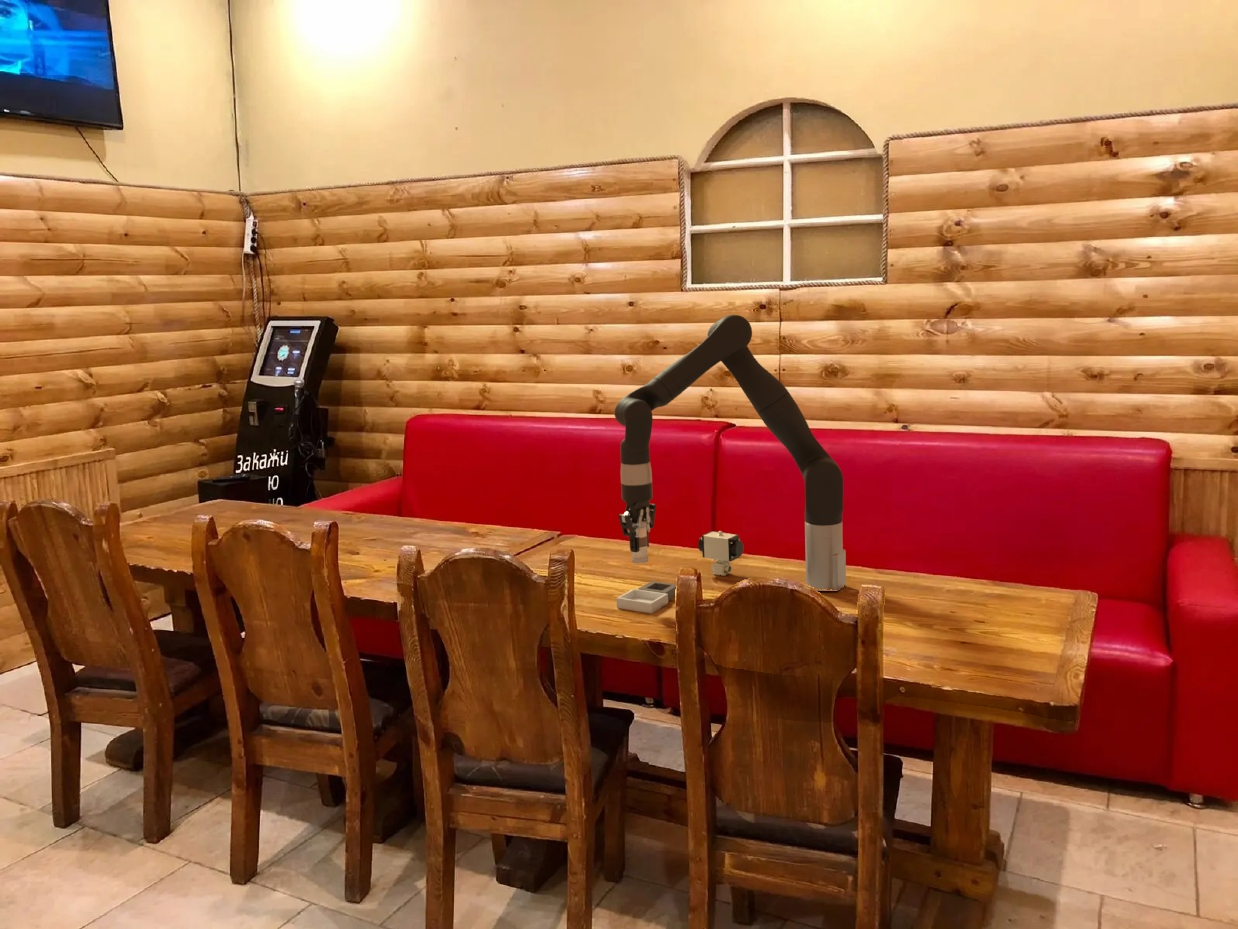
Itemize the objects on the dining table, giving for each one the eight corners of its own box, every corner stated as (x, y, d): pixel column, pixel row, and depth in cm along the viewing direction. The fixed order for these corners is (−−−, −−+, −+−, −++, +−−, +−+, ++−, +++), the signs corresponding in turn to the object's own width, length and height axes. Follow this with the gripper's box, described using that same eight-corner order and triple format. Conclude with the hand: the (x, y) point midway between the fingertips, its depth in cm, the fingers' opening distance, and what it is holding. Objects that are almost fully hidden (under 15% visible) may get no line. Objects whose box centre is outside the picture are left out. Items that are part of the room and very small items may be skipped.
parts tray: (668, 603, 235) (667, 593, 234) (651, 613, 228) (651, 603, 228) (634, 598, 240) (633, 588, 240) (616, 607, 233) (616, 598, 233)
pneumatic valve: (736, 579, 251) (734, 535, 249) (698, 573, 258) (697, 530, 256) (746, 574, 255) (745, 530, 253) (709, 568, 262) (707, 526, 260)
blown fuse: (651, 559, 233) (649, 520, 231) (642, 564, 229) (640, 524, 227) (637, 558, 235) (635, 518, 233) (628, 562, 231) (626, 522, 230)
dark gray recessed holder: (679, 594, 241) (679, 584, 241) (665, 602, 235) (665, 592, 235) (652, 590, 246) (652, 580, 245) (638, 598, 240) (638, 588, 239)
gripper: (633, 487, 221) (637, 558, 224) (664, 476, 232) (667, 543, 235) (607, 485, 225) (611, 555, 228) (638, 474, 236) (642, 540, 239)
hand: (639, 549), depth 231 cm, fingers closed on blown fuse, 4 cm apart
